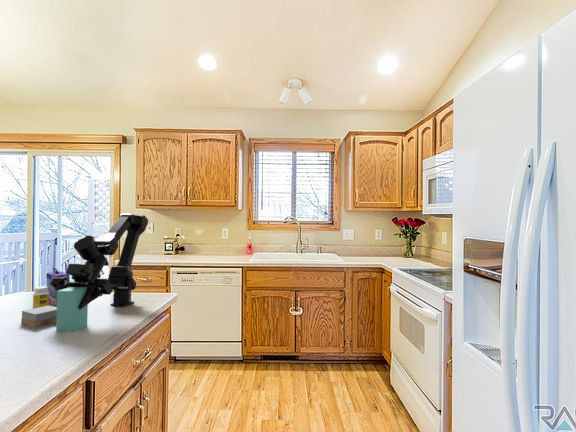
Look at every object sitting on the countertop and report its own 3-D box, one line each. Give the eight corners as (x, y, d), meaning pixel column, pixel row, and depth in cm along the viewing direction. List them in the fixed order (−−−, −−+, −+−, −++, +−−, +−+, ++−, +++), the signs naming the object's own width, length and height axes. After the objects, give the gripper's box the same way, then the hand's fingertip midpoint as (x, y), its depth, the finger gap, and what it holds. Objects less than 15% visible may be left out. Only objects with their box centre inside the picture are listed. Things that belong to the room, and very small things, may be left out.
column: (69, 324, 111) (70, 286, 111) (87, 325, 110) (88, 287, 110) (56, 330, 105) (57, 290, 105) (74, 331, 104) (75, 291, 104)
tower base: (51, 318, 119) (51, 311, 119) (64, 323, 114) (64, 315, 114) (21, 325, 111) (21, 317, 111) (34, 330, 107) (34, 322, 107)
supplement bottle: (39, 311, 125) (40, 289, 125) (29, 310, 126) (30, 288, 126) (51, 308, 130) (51, 286, 130) (41, 307, 131) (41, 285, 131)
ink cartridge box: (45, 301, 139) (45, 267, 139) (60, 299, 143) (61, 265, 143) (54, 305, 133) (55, 269, 133) (70, 303, 138) (70, 268, 138)
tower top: (48, 312, 118) (48, 305, 118) (61, 315, 114) (61, 308, 114) (21, 318, 111) (22, 310, 111) (35, 322, 107) (35, 314, 107)
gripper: (54, 253, 112) (26, 293, 101) (108, 254, 111) (86, 295, 100) (70, 273, 120) (46, 312, 109) (121, 274, 119) (101, 314, 108)
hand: (69, 308), depth 106 cm, fingers closed on column, 6 cm apart
